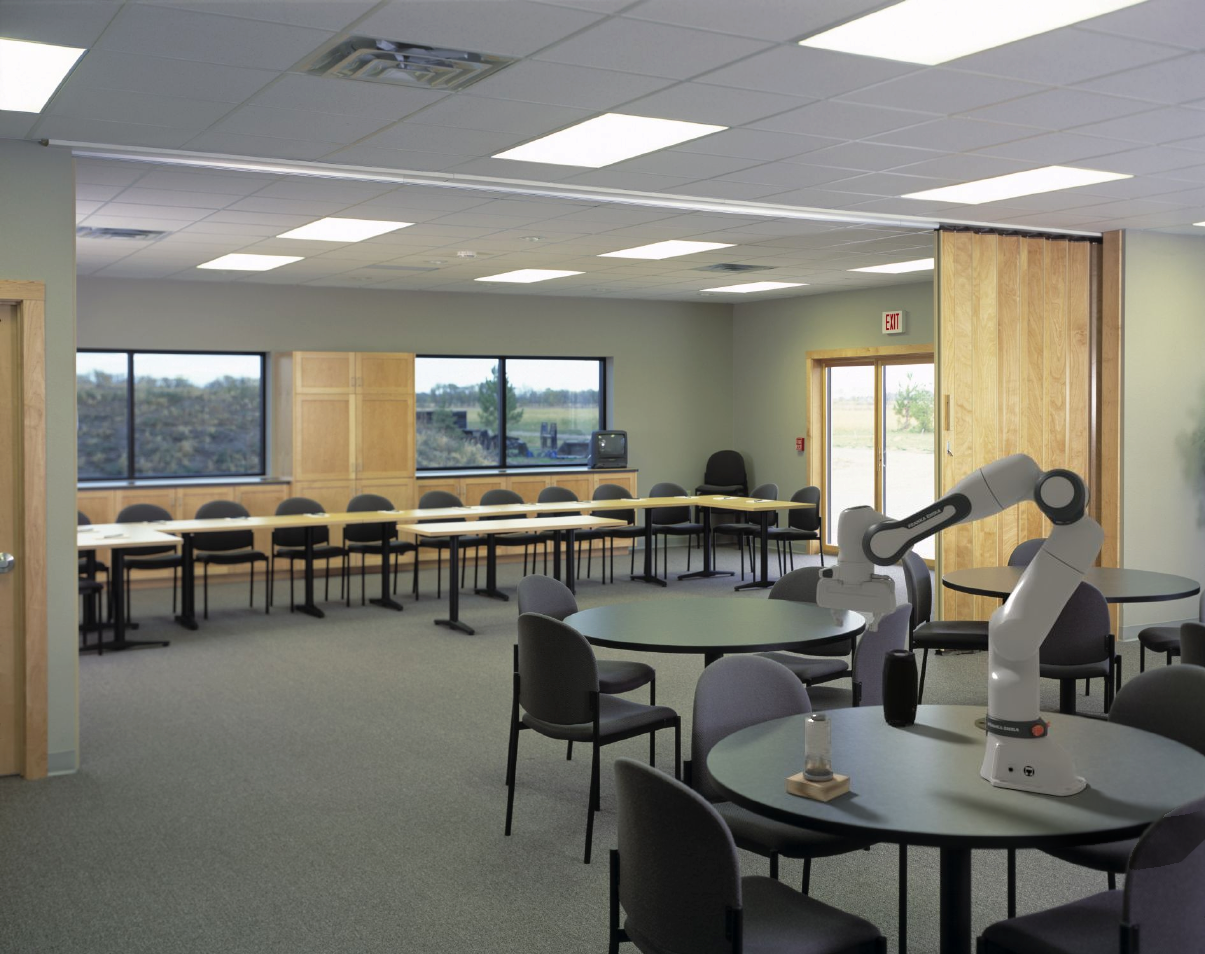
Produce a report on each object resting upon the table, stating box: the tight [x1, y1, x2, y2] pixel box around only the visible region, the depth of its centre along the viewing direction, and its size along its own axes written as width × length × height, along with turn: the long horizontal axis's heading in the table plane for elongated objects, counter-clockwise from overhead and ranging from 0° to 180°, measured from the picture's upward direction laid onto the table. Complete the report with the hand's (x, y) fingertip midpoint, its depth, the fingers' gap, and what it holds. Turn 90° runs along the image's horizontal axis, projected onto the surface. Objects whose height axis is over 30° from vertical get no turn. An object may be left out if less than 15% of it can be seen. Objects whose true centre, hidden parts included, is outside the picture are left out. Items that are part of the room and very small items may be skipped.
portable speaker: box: [881, 648, 919, 728], centre depth 309 cm, size 9×9×20 cm
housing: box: [802, 712, 834, 782], centre depth 253 cm, size 7×7×14 cm
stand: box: [785, 771, 851, 803], centre depth 253 cm, size 10×10×3 cm
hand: (855, 628), depth 279 cm, fingers open, 8 cm apart
